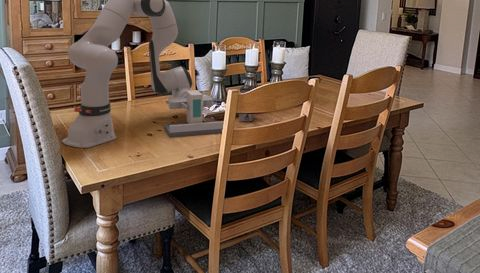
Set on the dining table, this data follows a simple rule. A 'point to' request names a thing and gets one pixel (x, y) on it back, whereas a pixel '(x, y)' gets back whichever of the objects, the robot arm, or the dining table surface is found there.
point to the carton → (194, 107)
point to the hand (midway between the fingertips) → (194, 107)
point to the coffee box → (246, 116)
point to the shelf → (193, 128)
